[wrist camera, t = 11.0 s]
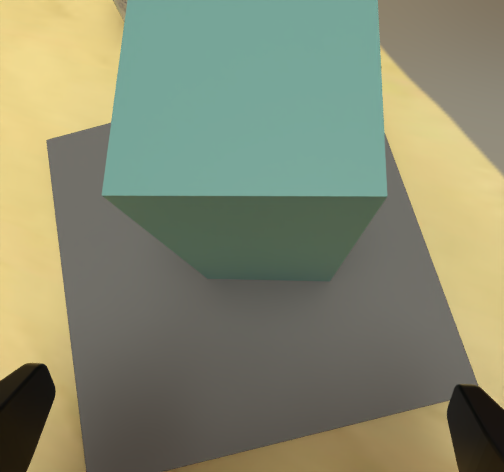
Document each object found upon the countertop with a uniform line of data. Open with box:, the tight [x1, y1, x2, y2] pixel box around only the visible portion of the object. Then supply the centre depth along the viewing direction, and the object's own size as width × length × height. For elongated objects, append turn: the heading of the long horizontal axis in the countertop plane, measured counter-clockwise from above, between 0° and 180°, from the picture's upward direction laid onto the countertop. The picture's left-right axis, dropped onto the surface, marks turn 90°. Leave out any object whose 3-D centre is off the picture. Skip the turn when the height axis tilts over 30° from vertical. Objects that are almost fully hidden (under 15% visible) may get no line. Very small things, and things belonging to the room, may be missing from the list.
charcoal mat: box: [46, 123, 478, 472], centre depth 21 cm, size 18×18×1 cm
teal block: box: [102, 0, 387, 281], centre depth 15 cm, size 6×6×12 cm
